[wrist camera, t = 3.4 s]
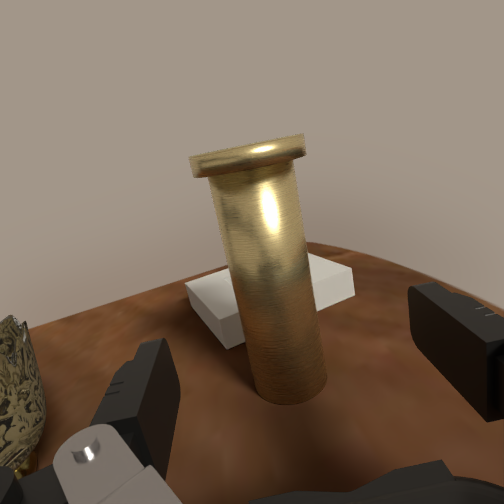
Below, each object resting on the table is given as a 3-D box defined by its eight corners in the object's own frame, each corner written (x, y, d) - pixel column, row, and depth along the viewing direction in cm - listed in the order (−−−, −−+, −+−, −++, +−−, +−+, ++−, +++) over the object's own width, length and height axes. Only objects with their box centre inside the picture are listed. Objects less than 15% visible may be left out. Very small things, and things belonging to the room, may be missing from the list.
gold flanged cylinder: (271, 430, 19) (209, 153, 15) (230, 375, 24) (176, 158, 20) (360, 383, 21) (327, 128, 17) (304, 341, 26) (269, 139, 22)
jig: (226, 349, 27) (219, 319, 26) (191, 306, 36) (184, 283, 35) (354, 295, 31) (351, 268, 30) (294, 268, 40) (290, 247, 39)
